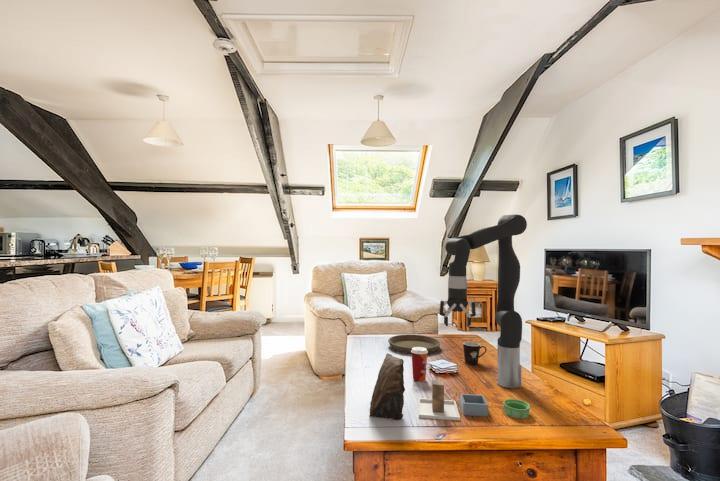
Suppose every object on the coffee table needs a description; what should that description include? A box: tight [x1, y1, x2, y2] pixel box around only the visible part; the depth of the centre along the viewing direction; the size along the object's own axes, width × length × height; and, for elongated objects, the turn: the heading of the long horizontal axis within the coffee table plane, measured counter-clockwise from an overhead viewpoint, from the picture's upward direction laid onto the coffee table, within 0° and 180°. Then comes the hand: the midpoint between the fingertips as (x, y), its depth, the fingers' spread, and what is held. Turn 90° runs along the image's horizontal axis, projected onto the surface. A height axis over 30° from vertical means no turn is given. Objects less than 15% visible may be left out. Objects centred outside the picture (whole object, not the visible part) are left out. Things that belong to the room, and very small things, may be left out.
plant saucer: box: [388, 334, 441, 355], centre depth 221 cm, size 31×31×5 cm
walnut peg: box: [431, 379, 445, 413], centre depth 135 cm, size 4×4×10 cm
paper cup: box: [411, 347, 429, 383], centre depth 168 cm, size 8×8×14 cm
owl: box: [369, 353, 406, 421], centre depth 134 cm, size 13×13×20 cm
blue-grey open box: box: [459, 393, 489, 417], centre depth 135 cm, size 9×9×5 cm
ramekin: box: [503, 398, 531, 419], centre depth 133 cm, size 9×9×4 cm
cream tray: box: [417, 397, 461, 421], centre depth 134 cm, size 14×14×2 cm
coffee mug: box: [462, 341, 487, 366], centre depth 192 cm, size 12×9×10 cm
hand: (457, 326), depth 151 cm, fingers open, 8 cm apart
